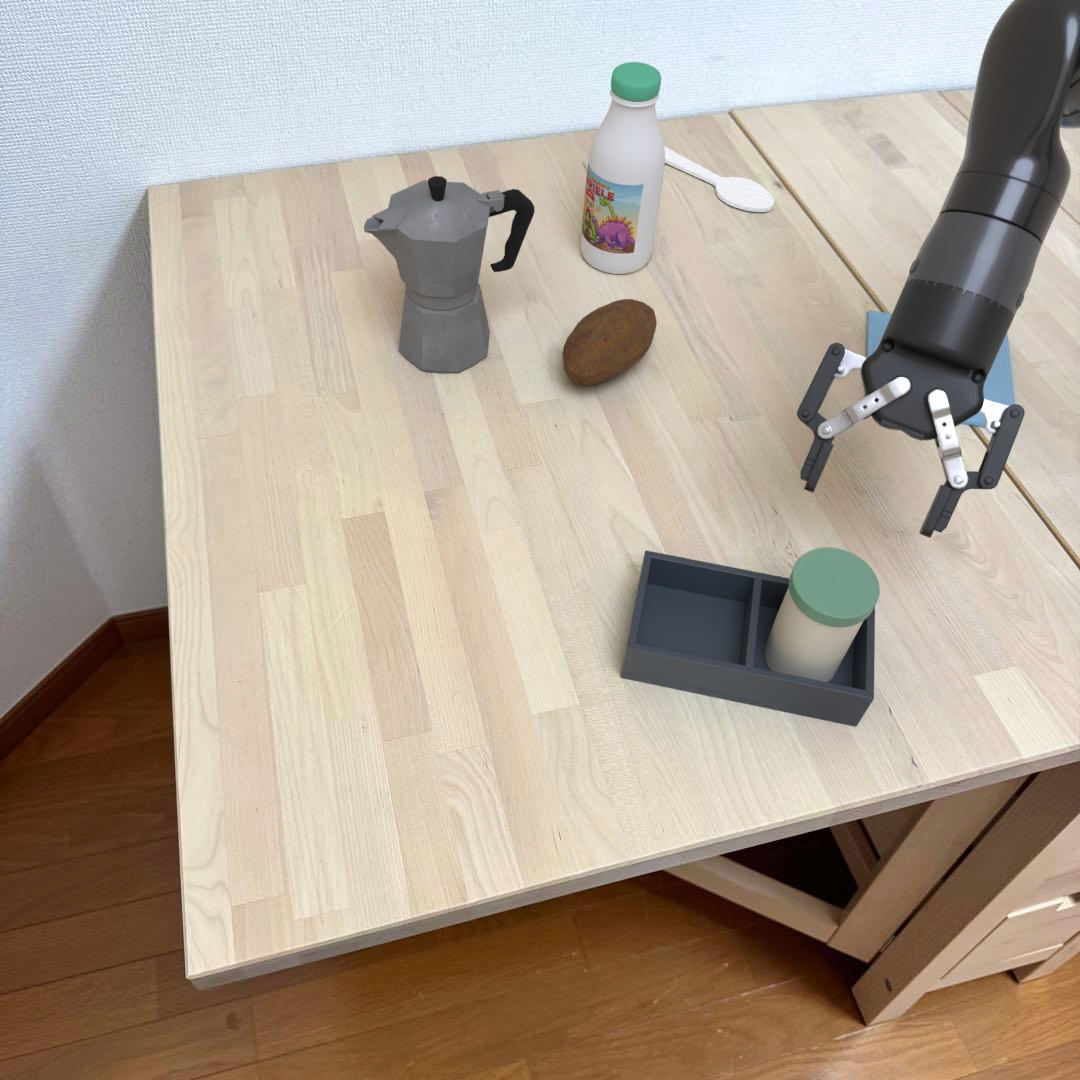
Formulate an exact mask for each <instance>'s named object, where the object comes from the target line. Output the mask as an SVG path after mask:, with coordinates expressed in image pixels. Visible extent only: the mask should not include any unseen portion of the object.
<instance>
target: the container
mask: <svg viewBox="0 0 1080 1080" xmlns="http://www.w3.org/2000/svg"><path fill="white" fill-rule="evenodd" d="M788 578H789V587H788V590H787V592H786V595H785V597H784V599H783V602H782V604H781V607H780V609H779V612H778V614H777V616H776V619H775V621H774V624H773V626H772V629H771V631H770V633H769V636H768V638H767V641H766V643H765V648H764V655H765V660H766V662H767V665H768V667H769V668H770V670H771V671H774V672H779V673H783V674H788V675H793V676H798V677H803V678H808V679H813V680H818V681H823V682H829V681H830V680H831V679H832V677H833V676H834V675H835V673H836V671H837V669H838V667H839V665H840V663H841V662H842V660H843V658H844V656H845V654H846V652H847V650H848V649H849V647H850V645H851V643H852V641H853V639H854V637H855V636H856V634H857V632H858V630H859V628H860V626H861V625H862V623H863V621H864V620H865V619H866V618H867V617H868V616H869V615H870V614H871V612H872V611H873V609H874V607H875V608H876V605H877V603H878V601H879V599H880V593H881V592H880V591H881V590H880V589H881V588H880V583H879V579H878V577H877V575H876V573H875V571H874V570H873V568H872V567H871V566H870V565H869V564H868V563H867V562H866V561H864V560H863V559H862V558H861V557H859V556H858V555H856V554H855V553H852V552H850V551H847V550H845V549H841V548H838V547H818V548H814V549H811V550H809V551H806V552H805V553H803V554H802V555H800V557H799V558H798V559H797V560H796V561H795V563H794V565H793V567H792V569H791V573H790V574H789V577H788Z"/></svg>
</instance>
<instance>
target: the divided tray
mask: <svg viewBox="0 0 1080 1080" xmlns="http://www.w3.org/2000/svg"><path fill="white" fill-rule="evenodd" d="M789 578H790V577H784V576H780V575H773V574H769V573H765V572H764V573H763V572H760V571H759V572H758V571H754V570H749V569H743V568H739V567H733V566H728V565H723V564H718V563H712V562H708V561H703V560H697V559H692V558H687V557H683V556H677V555H671V554H667V553H661V552H656V551H650V550H645V551H644V554H643V559H642V564H641V570H640V574H639V579H638V583H637V589H636V594H635V599H634V603H633V604H634V606H633V610H632V614H631V621H630V625H629V631H628V637H627V641H626V646H625V651H624V657H623V663H622V667H621V672H620V678H621V679H626V680H631V681H635V682H641V683H645V684H650V685H655V686H659V687H663V688H668V689H674V690H678V691H682V692H683V691H684V692H687V693H694V694H697V695H702V696H708V697H712V698H717V699H721V700H725V701H731V702H736V703H741V704H745V705H750V706H756V707H760V708H765V709H769V710H775V711H779V712H784V713H790V714H793V715H798V716H803V717H808V718H813V719H818V720H822V721H827V722H832V723H837V724H842V725H847V726H852V727H858V725H859V723H860V722H861V720H862V719H863V717H864V716H865V714H866V712H867V711H868V710H869V708H870V706H871V704H872V703H873V701H874V699H875V653H876V652H875V650H876V649H875V648H876V647H875V646H876V645H875V643H876V606H875V607H874V609H873V611H872V612H871V614H870V615H869V616H868V617H867V618H866V619H865V620H864V621H863V623H862V625H861V626H860V628H859V630H858V632H857V634H856V636H855V637H854V639H853V641H852V643H851V645H850V647H849V649H848V650H847V652H846V654H845V656H844V658H843V660H842V662H841V663H840V665H839V667H838V669H837V671H836V673H835V675H834V676H833V677H832V679H831V680H830V681H829V682H823V681H818V680H813V679H808V678H803V677H798V676H793V675H788V674H783V673H779V672H774V671H771V670H770V668H769V667H768V665H767V662H766V660H765V655H764V648H765V643H766V641H767V638H768V636H769V633H770V631H771V629H772V626H773V624H774V621H775V619H776V616H777V614H778V612H779V609H780V607H781V604H782V602H783V599H784V597H785V595H786V592H787V590H788V587H789Z"/></svg>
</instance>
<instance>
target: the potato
mask: <svg viewBox="0 0 1080 1080" xmlns="http://www.w3.org/2000/svg"><path fill="white" fill-rule="evenodd" d="M657 323H658V322H657V318H656V314H655V310H654V308H652V306H650V305H649V304H647V303H645V302H644V301H640V300H636V299H633V298H622V299H618V300H614V301H611V302H609V303H607V304H604V305H602V306H600V307H597V308H596V309H594V310H593V311H591V312H589V313H587V315H585V316H583V317H582V318H581V319H580V320H579V322H577V324H576V325H575V327H574V328H573V330H572V331H571V332H570V334H569V335H568V336H567V338H566V340H565V343H564V345H563V349H562V353H561V356H562V362H563V363H562V364H563V370H564V371H565V373H566V374H567V376H568V378H569V379H570V380H571V381H574V382H575V383H577V384H580V385H589V386H590V385H595V384H600V383H603V382H606V381H608V380H611V379H612V378H614V377H616V376H618V375H620V374H622V373H623V372H625V371H626V370H628V369H630V368H631V367H632V366H634V365H635V364H636V363H638V362H639V361H640V360H642V358H643V357H644V356H645V355H646V354H647V353H648V351H649V349H650V347H651V345H652V343H653V341H654V336H655V333H656V330H657Z"/></svg>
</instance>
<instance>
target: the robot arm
mask: <svg viewBox="0 0 1080 1080" xmlns="http://www.w3.org/2000/svg"><path fill="white" fill-rule="evenodd" d="M986 41H987V42H986V43H985V47H984V49H983V53H982V56H981V60H980V64H979V68H978V72H977V77H976V83H975V88H974V94H973V97H972V103H971V108H970V109H971V110H970V114H969V119H968V125H967V132H966V133H967V134H966V141H965V147H964V148H965V149H964V155H963V159H962V161H961V164H960V165H959V168H958V170H957V172H956V174H955V176H954V178H953V180H952V183H951V185H950V187H949V190H948V192H947V194H946V196H945V199H944V201H943V203H942V206H941V208H940V211H939V213H938V215H937V217H936V219H935V222H934V223H933V225H932V227H931V228H930V229H929V232H928V234H927V235H926V237H925V238H924V240H923V242H922V244H921V246H920V248H919V250H918V252H917V255H916V258H914V261H913V262H912V263H911V265H910V268H909V270H908V276H907V278H906V280H905V282H904V284H903V288H902V289H901V292H900V293H899V296H898V299H897V302H896V304H895V306H894V308H893V310H892V313H891V314H892V315H891V318H890V320H889V322H888V325H887V327H886V329H885V332H884V334H883V336H882V339H881V341H880V343H879V346H878V348H877V349H876V350H875V352H874V353H873V354H872V355H870V356H869V357H868V358H867V356H865V355H861V354H859V353H856V352H855V351H852V350H850V349H847V348H845V346H844V345H843V344H842V343H841V342H833V343H831V344H830V345H829V346H828V348H827V350H826V351H825V354H824V355H823V357H822V360H821V362H820V363H819V366H818V368H817V370H816V372H815V374H814V376H813V378H812V380H811V383H810V384H809V386H808V389H807V390H806V392H805V394H804V396H803V398H802V401H801V403H800V404H799V407H798V409H797V411H796V416H797V419H798V420H799V421H800V422H801V423H803V424H804V425H805V426H806V427H807V428H808V429H810V431H812V433H813V441H812V444H811V446H810V448H809V451H808V453H807V456H806V457H805V460H804V462H803V465H802V467H801V470H800V480H802V481H805V485H804V487H803V490H804V491H807V492H810V493H813V494H814V493H815V491H816V489H817V486H818V484H819V481H820V479H821V477H822V474H823V472H824V470H825V467H826V465H827V462H828V460H829V458H830V455H831V454H832V450H833V448H834V447H835V444H833V442H834V440H835V438H836V437H837V436H839V435H841V434H843V433H844V432H847V430H849V429H851V428H853V427H855V426H857V425H859V424H860V423H862V422H864V421H865V420H867V419H869V418H870V417H871V418H872V419H873V421H874V422H875V423H876V424H877V425H878V426H879V427H882V428H884V429H887V430H892V431H900V432H903V433H904V434H905V435H907V436H908V437H910V438H912V439H914V440H917V441H920V442H923V441H927V442H928V441H932V440H934V443H935V447H936V451H937V455H938V458H939V460H940V463H941V468H942V471H943V476H944V478H945V482H944V483H943V484H940V485H939V487H938V489H937V492H936V493H935V496H934V499H933V500H932V502H931V505H930V507H929V509H928V512H927V514H926V515H925V518H924V521H923V522H922V525H921V527H920V530H919V531H918V532H919V533H918V534H919V535H921V536H924V537H927V538H930V539H931V538H932V536H933V534H934V531H935V532H937V533H940V534H941V533H942V532H943V531H945V529H947V527H948V525H949V523H950V521H951V518H952V517H953V514H954V512H955V510H956V508H957V505H958V503H959V501H960V499H961V497H962V495H963V493H965V492H966V491H968V490H993V489H995V488H996V487H997V486H998V485H999V482H1000V479H1001V477H1002V475H1003V472H1004V469H1005V467H1006V464H1007V462H1008V459H1009V456H1010V454H1011V451H1012V449H1013V446H1014V443H1015V441H1016V439H1017V435H1018V433H1019V431H1020V427H1021V425H1022V423H1023V420H1024V417H1025V415H1026V414H1025V413H1026V412H1025V409H1024V407H1023V406H1022V405H1020V404H1016V403H1015V404H1013V405H1010V406H1008V405H1005V404H1001V403H998V402H994V401H991V400H987V399H984V393H983V389H984V384H985V381H986V379H987V376H988V374H989V372H990V370H991V367H992V365H993V363H994V361H995V359H996V356H997V354H998V352H999V350H1000V347H1001V345H1002V343H1003V341H1004V338H1005V336H1006V334H1007V333H1008V332H1009V330H1010V327H1011V325H1012V323H1013V321H1014V319H1015V316H1016V314H1017V312H1018V310H1019V309H1020V308H1021V306H1022V304H1023V302H1024V301H1025V294H1026V292H1027V290H1028V288H1029V284H1030V282H1031V280H1032V277H1033V274H1034V270H1035V267H1036V264H1037V260H1038V257H1039V254H1040V251H1041V249H1042V247H1043V245H1044V243H1045V239H1046V237H1047V236H1048V233H1049V231H1050V229H1051V227H1052V224H1053V222H1054V219H1055V217H1056V215H1057V214H1058V211H1059V208H1060V206H1061V204H1062V202H1063V200H1064V198H1065V195H1066V193H1067V189H1068V186H1069V184H1070V180H1071V175H1072V170H1071V163H1070V161H1069V158H1068V156H1067V153H1066V151H1065V149H1064V146H1063V144H1062V139H1061V129H1068V130H1070V129H1071V130H1074V129H1080V0H1012V1H1011V2H1010V4H1009V5H1008V6H1007V7H1006V8H1005V10H1004V11H1003V12H1002V13H1001V15H1000V16H999V19H998V20H997V22H996V24H995V25H994V26H993V29H992V31H991V33H990V34H989V37H988V39H987V40H986ZM854 371H860V376H861V377H860V378H861V380H862V384H863V388H864V392H865V397H862V398H861V399H859V400H857V401H855V402H854V403H852V404H851V405H849V406H848V407H846V408H845V409H843V410H841V411H840V412H838V413H837V414H835V415H832V416H831V417H830V418H828V419H826V418H825V416H823V415H822V414H821V413H819V411H820V409H821V407H822V405H823V403H824V401H825V400H826V397H827V395H828V393H829V391H830V389H831V387H832V384H833V382H834V381H835V379H837V380H844V379H846V378H848V376H849V375H850V373H851V372H854ZM978 412H979V413H981V414H982V415H983V416H984V418H985V425H984V426H985V427H984V430H985V431H986V432H987V433H988V434H990V435H991V437H990V439H989V443H988V445H987V447H986V450H985V453H984V455H983V457H982V461H981V463H980V465H979V469H978V470H976V471H974V470H973V471H972V470H969V471H968V470H967V469H966V465H965V461H964V458H963V454H962V453H963V452H962V447H961V444H960V441H959V437H958V433H957V430H956V427H958V426H959V425H961V424H962V423H963V422H964V421H966V420H968V419H969V418H971V417H973V416H974V415H976V414H977V413H978Z"/></svg>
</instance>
